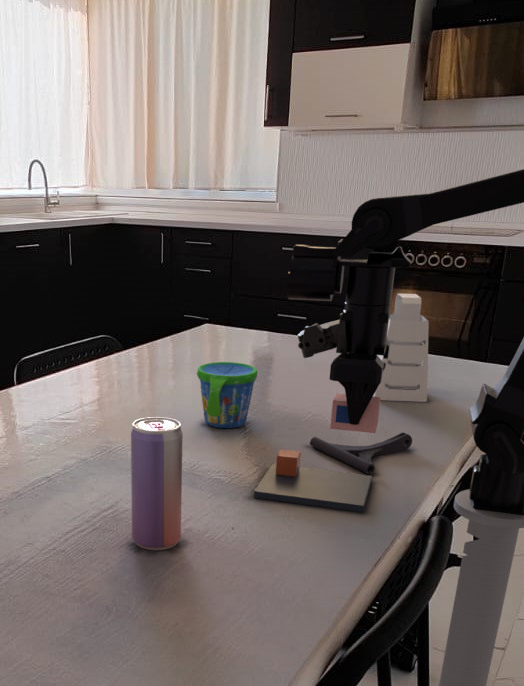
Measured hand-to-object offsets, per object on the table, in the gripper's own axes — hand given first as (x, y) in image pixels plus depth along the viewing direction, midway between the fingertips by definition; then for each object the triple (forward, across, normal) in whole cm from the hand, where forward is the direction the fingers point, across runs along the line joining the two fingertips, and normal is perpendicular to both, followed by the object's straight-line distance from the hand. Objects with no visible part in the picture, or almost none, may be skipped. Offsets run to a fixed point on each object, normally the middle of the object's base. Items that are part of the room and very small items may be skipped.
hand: (355, 419), depth 105 cm
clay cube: (+10, -3, -9) cm, 14 cm away
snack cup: (+11, -27, -25) cm, 38 cm away
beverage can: (+11, +24, -21) cm, 33 cm away
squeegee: (+11, -19, +2) cm, 22 cm away
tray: (+11, 0, -5) cm, 12 cm away
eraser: (+1, 0, 0) cm, 1 cm away
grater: (+11, -60, +4) cm, 61 cm away
